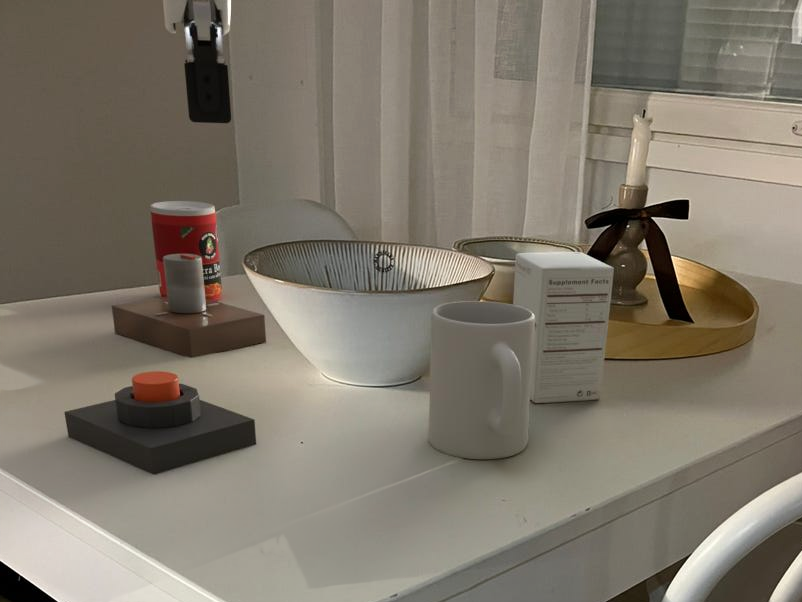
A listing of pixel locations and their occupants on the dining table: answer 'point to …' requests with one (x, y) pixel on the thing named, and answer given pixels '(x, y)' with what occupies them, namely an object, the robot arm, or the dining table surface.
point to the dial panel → (189, 326)
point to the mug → (480, 378)
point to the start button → (155, 386)
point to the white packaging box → (565, 322)
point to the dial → (184, 283)
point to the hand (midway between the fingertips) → (209, 117)
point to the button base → (160, 430)
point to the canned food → (187, 239)
